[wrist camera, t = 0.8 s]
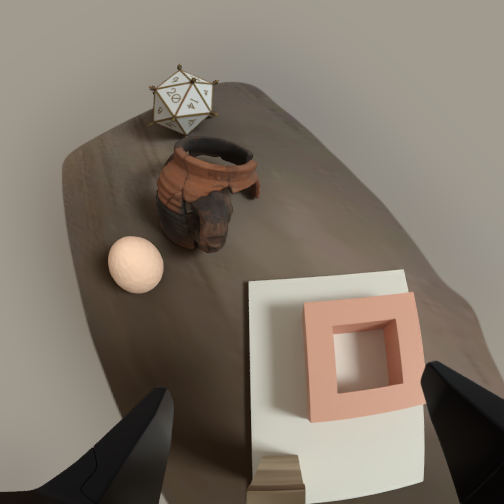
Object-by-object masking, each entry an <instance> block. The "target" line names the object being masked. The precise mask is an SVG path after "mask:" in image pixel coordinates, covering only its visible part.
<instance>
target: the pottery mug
mask: <svg viewBox="0 0 504 504" xmlns="http://www.w3.org/2000/svg"><path fill="white" fill-rule="evenodd" d="M187 151H189V155H188V154H187V153H186V152H187ZM199 155H207V156H211V157H221V158H222V159H223V160H225V161H228V162H231V163H234V164H236V165H238V166H223V165H218V164H213V163H209V162H205V161H202V160H199V159H196V158H194V157H196V156H199ZM252 158H253V153H252V152H251V151H250V150H248V149H246V148H245V147H243V146H241V145H239V144H236V143H234V142H230V141H227V140H224V139H220V138H214V137H207V136H192V137H186V138H183V139H180V140H179V141H178V142H177V143H176V144H175V146H174V154H172V155H171V156H170V158H169V159H168V160H167V162H166V163H165V165H164V168H163V169H162V171H161V172H160V173H159V178H158V181H157V186H158V190H157V195H156V199H157V213H158V217H159V219H160V222H161V227H162V230H163V232H164V234H165V235H166V236H167V237H168V238H169V239H170V240H171V241H173V242H174V243H176V244H177V245H179V246H183V247H185V248H189V249H194V248H195V243H194V242H195V241H196V242H198V244H199V248H200V250H202V251H204V252H206V253H212V252H217V251H219V250H220V249H221V248H222V247H223V246H224V244H225V241H226V237H227V232H228V223H229V222H230V219H231V214H232V212H233V207H232V204H231V199H230V197H229V196H228V195H227V194H226V193H223V192H220V191H221V190H222V189H225V188H227V187H228V188H229V190H230V192H231V193H237V192H238V191H241V190H243V189H246V188H248V187H249V186H251V193H252V195H253V196H254V197H256V198H259V194H260V183H259V179H258V176H257V173H256V172H255V168H256V167H257V162H256V161H253V160H252ZM185 202H187V203H188V204H191V210H192V212H190V213H186V208H185Z"/></svg>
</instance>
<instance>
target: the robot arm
mask: <svg viewBox="0 0 504 504" xmlns="http://www.w3.org/2000/svg"><path fill="white" fill-rule="evenodd" d="M420 383H421V387H422V391H423V394H424V398H425V401H426V405H427V408H428V412H429V415H430V418H431V421H432V424H433V426H434V429H435V431H436V434H437V437H438V439H439V442H440V445H441V447H442V450H443V453H444V456H445V459H446V461H447V464H448V467H449V470H450V473H451V476H452V479H453V482H454V486H455V489H456V492H457V495H458V499H459V502H460V504H504V399H502V398H500V397H499V396H497V395H495V394H494V393H492V392H490V391H488V390H487V389H485V388H483V387H481V386H480V385H478V384H476V383H475V382H473V381H471V380H469V379H468V378H466V377H464V376H463V375H461V374H459V373H457V372H456V371H454V370H452V369H451V368H449V367H447V366H445V365H444V364H442V363H440V362H439V361H432V362H428V363H427V364H426V366H425V368H424V371H423V374H422V377H421V380H420ZM173 414H174V402H173V400H172V397H171V394H170V391H169V389H168V388H167V387H159V386H157V387H155V388H154V389H153V390H152V391H151V392H150V393H149V394H148V395H147V396H146V397H145V398H144V399H142V400H141V401H140V402H139V403H138V404H137V405H136V406H135V407H134V408H133V409H132V410H131V411H130V412H129V413H128V414H127V415H126V416H125V417H124V418H123V419H122V420H121V421H120V422H119V423H118V424H116V426H114V427H113V428H112V429H111V430H110V431H109V432H108V433H107V434H106V435H105V436H104V437H103V438H102V439H101V440H100V441H99V442H98V443H96V444H95V445H94V448H91V449H90V450H89V451H88V452H87V453H86V454H84V455H83V456H82V457H81V458H80V459H79V460H78V461H76V462H75V463H74V464H72V465H71V466H70V467H68V468H67V469H66V470H64V471H63V472H62V473H60V474H59V475H57V476H56V477H54V478H53V479H52V480H50V481H49V482H47V483H46V484H44V485H43V486H41V487H39V488H37V489H34V490H30V491H16V492H0V504H159V499H160V494H161V489H162V484H163V479H164V474H165V470H166V465H167V460H168V456H169V451H170V446H171V436H172V425H173Z"/></svg>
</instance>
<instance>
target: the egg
mask: <svg viewBox="0 0 504 504" xmlns="http://www.w3.org/2000/svg"><path fill="white" fill-rule="evenodd" d="M108 265H109V270H110V273H111V276H112V277H113V279H114V280H115V282H116V283H117V284H118V285H119V286H120V287H121V288H123V289H124V290H126V291H128V292H131V293H144V292H148V291H149V290H151V289H153V288H154V287H155V286H157V284H158V283H159V281H160V280H161V277H162V274H163V260H162V257H161V255H160V253H159V251H158V250H157V248H156V247H155V246H154V245H153V244H152V243H151V242H149V241H147V240H146V239H144V238H141V237H135V236H127V237H124V238H121V239H119V240H118V241H117V242H115V243H114V245H113V246H112V247H111V250H110V252H109V257H108Z"/></svg>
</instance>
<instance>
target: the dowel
mask: <svg viewBox="0 0 504 504" xmlns="http://www.w3.org/2000/svg"><path fill="white" fill-rule="evenodd" d="M247 504H305V484H303V479H302V474H301V469H300V463H299V458H298V455H293V456H268V457H262V459H261V462H260V464H259V466H258V469H257V471H256V473H255V476H254V478H253V480H252V482H251V485H249V486H248V488H247Z"/></svg>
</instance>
